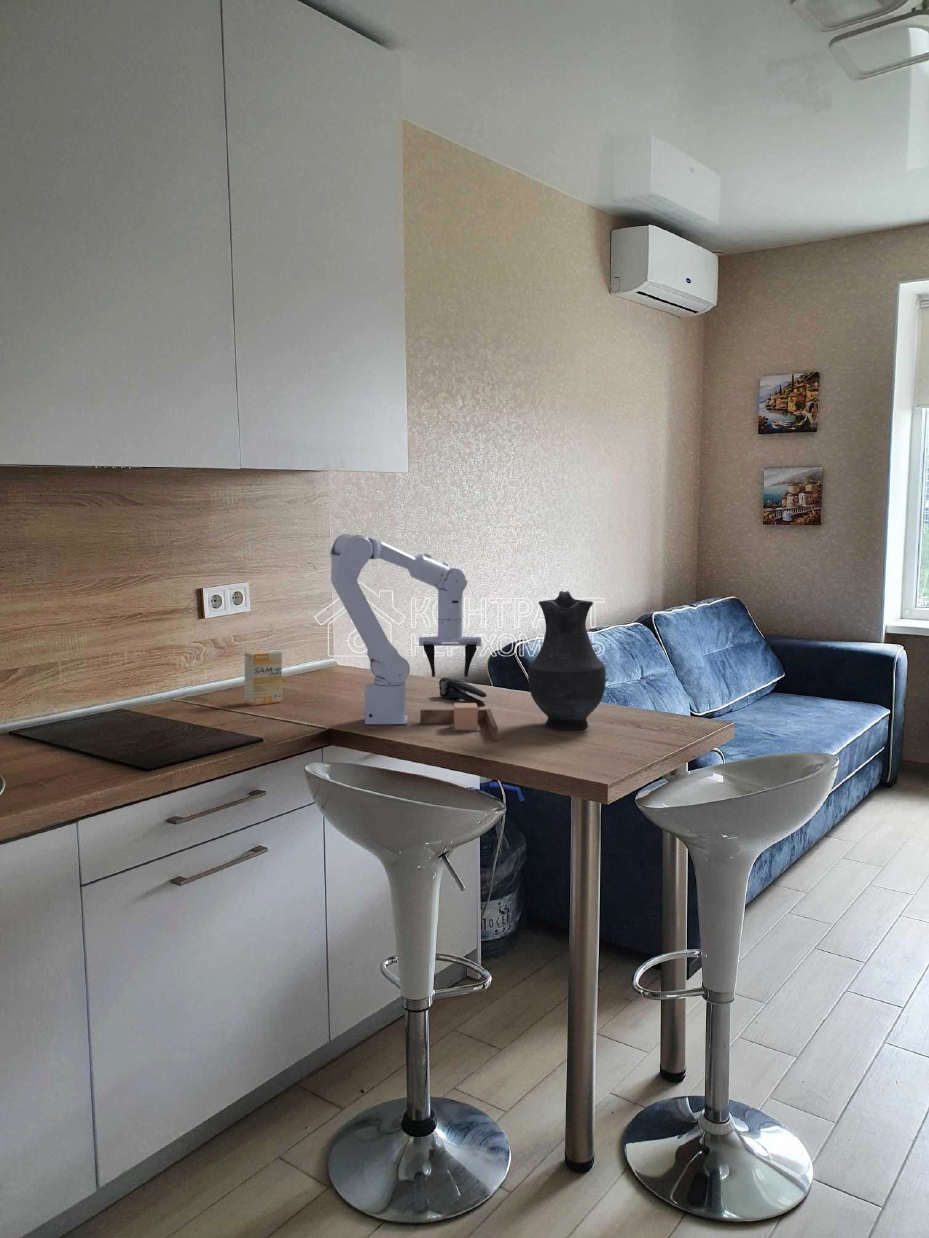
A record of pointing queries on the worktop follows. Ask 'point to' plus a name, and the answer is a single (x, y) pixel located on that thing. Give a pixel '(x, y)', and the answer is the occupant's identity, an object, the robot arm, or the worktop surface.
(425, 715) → the arena
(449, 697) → the can opener
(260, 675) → the supplement box
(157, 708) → the worktop surface
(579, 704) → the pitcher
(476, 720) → the cube
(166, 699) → the worktop surface
